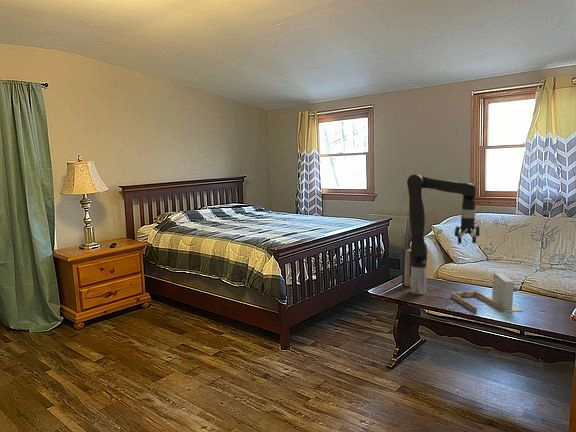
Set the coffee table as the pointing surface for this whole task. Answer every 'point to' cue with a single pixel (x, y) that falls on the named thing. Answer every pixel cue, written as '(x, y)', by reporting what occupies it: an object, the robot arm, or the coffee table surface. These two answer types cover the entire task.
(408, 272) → the book
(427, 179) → the robot arm
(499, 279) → the skincare box
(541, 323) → the coffee table surface
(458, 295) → the wooden u-shaped frame
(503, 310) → the beige flat board
